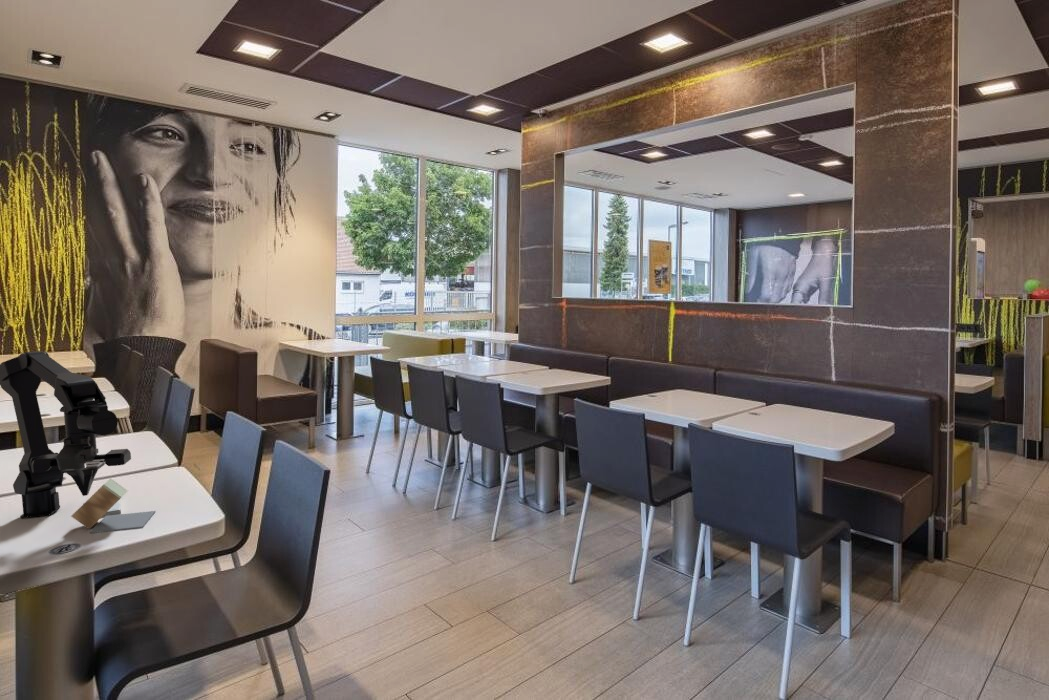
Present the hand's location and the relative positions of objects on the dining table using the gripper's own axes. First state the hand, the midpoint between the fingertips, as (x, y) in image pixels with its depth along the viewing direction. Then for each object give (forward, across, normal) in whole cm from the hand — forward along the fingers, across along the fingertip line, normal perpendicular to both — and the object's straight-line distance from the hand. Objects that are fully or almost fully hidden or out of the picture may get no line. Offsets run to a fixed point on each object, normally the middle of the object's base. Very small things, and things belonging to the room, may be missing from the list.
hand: (85, 495), depth 149 cm
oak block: (+6, -1, 0) cm, 6 cm away
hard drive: (+8, -1, +12) cm, 15 cm away
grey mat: (+8, +8, 0) cm, 11 cm away
